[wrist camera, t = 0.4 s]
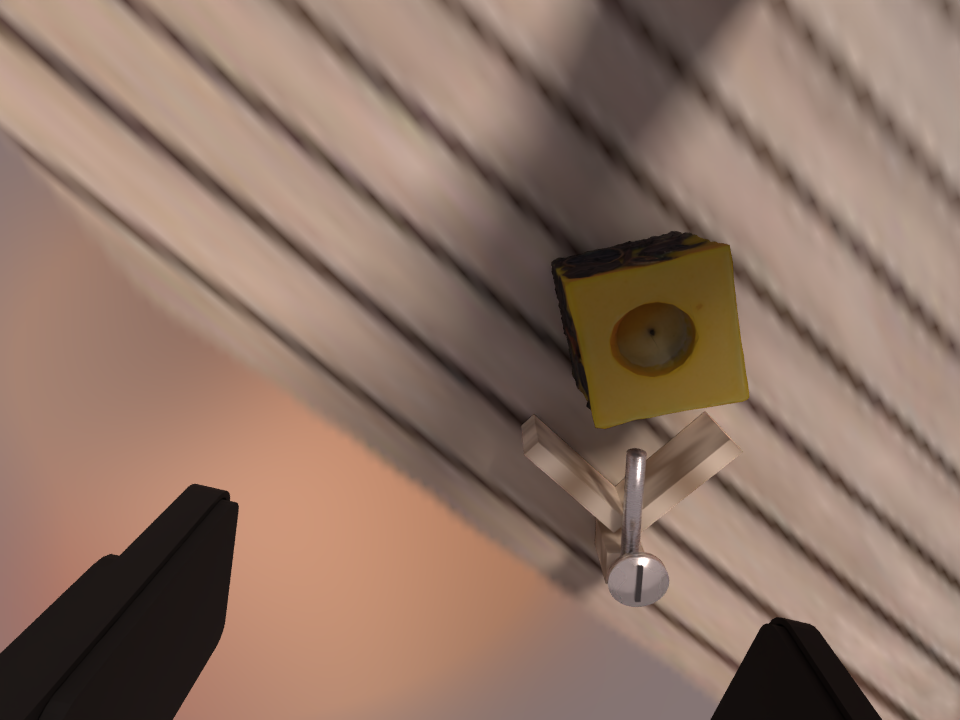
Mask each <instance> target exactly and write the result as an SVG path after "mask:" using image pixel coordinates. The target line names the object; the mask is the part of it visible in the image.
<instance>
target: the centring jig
mask: <svg viewBox="0 0 960 720" xmlns="http://www.w3.org/2000/svg"><path fill="white" fill-rule="evenodd" d="M521 429H522V439H523V449H524V455H525V456H526V457H527V458H528V459H529V460H531V461H532V462H533V463H534V464H535V465H536V466H537V467H539V468H540V469H541V470H542V471H543V472H544V473H545V474H547V475H548V476H549V477H550V478H551V479H552V480H554V481H555V482H556V483H557V484H558V485H559V486H560V487H562V488H563V489H564V490H565V491H566V492H567V493H569V494H570V495H571V496H572V497H573V498H574V499H575V500H577V501H578V502H579V503H580V504H581V505H582V506H583V507H585V508H586V509H587V510H588V511H589V512H590V513H592V514H593V515H594V516H595V517H596V531H595V546H596V550H597V554H598V557H599V561H600V565H601V568H602V572H603V576H604V579H605V583H606V584H608V583H607V571H608V569H609V567H610V565H611V564H612V563H613V562H614V561H615V560H616V559H617V558H619V557H620V549H621V533H622V518H623V502H624V486H625V479H623V480H622V481H621V482H620V483H619V484H617V485H616V486H613V485H612V484H611V483H610V482H609V481H608V480H607V479H606V478H604V477H603V476H602V475H601V474H600V473H599V472H598V471H597V470H596V469H594V468H593V467H592V466H591V465H590V464H589V463H588V462H587V461H585V460H584V459H583V458H582V457H581V456H580V455H579V454H578V453H577V452H575V451H574V450H573V449H572V448H571V447H570V446H569V445H568V444H566V443H565V442H564V441H563V440H562V439H561V438H560V437H559V436H558V435H556V434H555V433H554V432H553V431H552V430H551V429H550V428H549V427H547V426H546V425H545V424H544V423H543V422H542V421H541V420H540V419H539V418H537V417H536V416H535V415H534V414H533V415H532V416H531V417H530V418H529V419H528V420H527V421H526V422H525V423H524V424H523V425H522V426H521ZM742 452H743V451H742V450H741V449H740V448H739V447H738V446H737V445H736V443H735V442H734V441H733V440H732V439H731V438H730V437H729V436H728V435H727V434H726V432H725V431H724V430H723V429H722V428H721V427H720V426H719V425H718V424H717V423H716V422H715V421H714V420H713V419H712V418H711V417H710V416H709V415H708V414H707V413H706V412H704V413H703V414H701V415H700V416H699V417H698V418H697V419H695V420H694V421H693V422H692V423H691V424H689V425H688V426H687V427H686V428H685V429H683V430H682V431H681V432H680V433H679V434H677V435H676V436H675V437H674V438H673V439H671V440H670V441H669V442H668V443H667V444H665V445H664V446H663V447H662V448H661V449H659V450H658V451H657V452H656V453H655V454H653V455H652V456H651V457H650V458H649V459H647V460H646V469H645V482H644V495H643V508H642V521H641V532H642V531H644V530H645V529H646V528H648V527H649V526H650V525H651V524H653V523H654V522H655V521H656V520H658V519H659V518H660V517H661V516H663V515H664V514H665V513H666V512H668V511H669V510H670V509H672V508H673V507H674V506H675V505H677V504H678V503H679V502H680V501H682V500H683V499H684V498H685V497H687V496H688V495H689V494H690V493H692V492H693V491H694V490H696V489H697V488H698V487H699V486H701V485H702V484H703V483H704V482H706V481H707V480H708V479H709V478H711V477H712V476H713V475H715V474H716V473H717V472H718V471H720V470H721V469H722V468H723V467H725V466H726V465H727V464H728V463H730V462H731V461H732V460H733V459H735V458H736V457H737V456H739V455H740V454H741V453H742ZM615 488H616V489H615ZM618 496H619V497H618ZM620 501H621V502H620ZM639 552H644V550H643V547H642V545H641V542H640V547H639Z"/></svg>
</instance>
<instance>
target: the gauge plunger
mask: <svg viewBox="0 0 960 720" xmlns="http://www.w3.org/2000/svg"><path fill="white" fill-rule="evenodd" d="M646 456H647V453H646V452H645V451H644V450H641V449H637V448H632V449H629V450H627V455H626V470H625V486H624V502H623V518H622V533H621V549H620V557H619V558H617V559H616V560H615V561H614V562H613V563H612V564H611V565H610V567H609V569H608V571H607V583H608V587H609V590H610V593H611V595H612V596H613V597H614V598H615V599H616V600H617V601H618V602H620V603H622V604H624V605H627V606H632V607H642V606H647V605H650V604H652V603H654V602H656V601H658V600H659V599H660V598H661V597H662V596H663V595H664V594H665V593H666V591H667V589H668V586H669V576H668V573H667V570H666V568H665V566H664V564H663V563H662V561H661V560H660V559H659V558H657V557H656V556H654V555H652V554H650V553H646V552H639V547H640V534H641V521H642V508H643V495H644V482H645V469H646Z"/></svg>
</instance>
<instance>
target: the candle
mask: <svg viewBox="0 0 960 720" xmlns="http://www.w3.org/2000/svg"><path fill="white" fill-rule="evenodd" d="M551 266H552V274H553V276H554V277H553V279H554V283H555V286H556V287H555V291H556V294H557V299H558V300H559V308H560V312H561V315H562V318H561V319H562V323H563V329H564V334H565V335H566V336H567V341H568V345H569V352H570V357H571V362H572V367H573V369H572V375H573V377H574V379H575V381H576V385H577V388H578V389H579V390H580V391H581V392H582V393H583V395H584V396H585V398H586V399H587V401H588V402H587V407H588V408H589V409H590V410H591V411H592V417H593V421H594V425H595V428H601V429H606V428H610V427H613V426H617V425H620V424H623V423H626V422H630V421H633V420H636V419H644V418H652V417H656V416H661V415H665V414H670V413H676V412H681V411H686V410H693V409H700V408H707V407H713V406H719V405H725V404H731V403H737V402H743V401H745V400H747V399H748V398H749V389H748V381H747V376H746V369H745V362H744V354H743V349H742V343H741V336H740V328H739V320H738V312H737V303H736V294H735V286H734V275H733V261H732V255H731V250H730V245H727V244H723V243H717V242H710V241H709V240H708V239H703V238H700V237H698V236H697V235H693V234H692V233H683V234H682V233H681V232H677V231H671V232H669V233H668V234H663V235H661V236H653V237H650V238H648V239H643V240H639V241H635V242H631V241H629V242H626V243H623V244H619V245H616V246H613V247H610V248H605V249H597V250H594V251H587V252H586V253H584V254H582V255H577V256H570V257H567V258H557V259H556V260H554V261H553V262H552V263H551Z"/></svg>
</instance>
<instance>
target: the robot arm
mask: <svg viewBox="0 0 960 720" xmlns="http://www.w3.org/2000/svg"><path fill="white" fill-rule="evenodd" d="M238 509H239V506H238V503H236V502H232V501H230V494H229V492H228V491H225V490H220V489H216V488H212V487H207V486H203V485H198V484H192V485H190V486H189V487H188V488H187V489H186V490H185V491H184V492H183V493H182V494H181V495H180V496H179V497H178V498H177V499H176V500H175V501H174V502H173V503H172V504H171V505H170V506H169V507H168V508H167V509H166V510H165V511H164V512H163V513H162V514H161V515H160V516H159V517H158V518H157V519H156V520H155V521H154V522H153V523H152V524H151V525H150V526H149V527H148V528H147V529H146V530H145V531H144V532H143V533H142V534H141V535H140V536H139V537H138V538H137V539H136V540H135V541H134V542H133V543H132V544H131V545H130V546H129V547H128V548H127V549H126V550H125V551H124V552H123V553H122V554H121V555H120V556H118V555H113V554H109V555H107V556H105V557H102V558H101V559H100V560H98V561H97V562H96V563H95V564H93V565H92V566H91V567H90V568H89V569H88V570H87V571H86V572H85V573H84V574H83V575H82V576H81V577H80V578H79V579H78V580H77V581H76V582H75V583H73V585H71V586H70V588H68V589H67V590H66V591H65V592H64V593H63V594H62V595H61V596H60V597H59V598H58V599H57V600H56V601H55V602H54V603H53V604H52V605H50V606H49V607H48V609H46V610H45V611H44V612H43V613H42V614H41V615H40V616H39V617H38V618H37V619H36V620H35V621H34V622H33V623H32V624H31V625H30V626H29V627H28V628H27V629H25V630H24V631H23V632H22V633H21V634H20V635H19V636H18V637H17V638H16V639H15V640H14V641H13V642H12V643H11V644H10V645H9V646H8V647H7V648H6V649H5V650H4V651H2V652H1V653H0V720H173V718H174V717H175V715H176V713H177V712H178V710H179V708H180V707H181V705H182V703H183V702H184V700H185V698H186V697H187V695H188V693H189V691H190V690H191V688H192V687H193V685H194V683H195V681H196V680H197V678H198V677H199V675H200V673H201V671H202V670H203V668H204V666H205V665H206V663H207V661H208V660H209V658H210V656H211V655H212V653H213V651H214V650H215V648H216V646H217V644H218V642H219V640H220V638H221V635H222V632H223V629H224V625H225V618H226V610H227V602H228V593H229V585H230V577H231V569H232V560H233V551H234V544H235V535H236V527H237V519H238ZM711 720H882V719H881V717H880V716H879V715H878V713H877V712H876V710H875V709H874V708H873V706H872V705H871V703H870V702H869V701H868V699H867V698H866V696H865V695H864V694H863V692H862V691H861V689H860V688H859V687H858V685H857V684H856V682H855V681H854V680H853V678H852V677H851V675H850V674H849V673H848V671H847V670H846V668H845V667H844V666H843V664H842V663H841V661H840V660H839V659H838V657H837V656H836V654H835V653H834V652H833V650H832V649H831V647H830V646H829V645H828V643H827V642H826V640H825V639H824V638H823V636H822V635H821V633H820V632H819V631H818V630H817V629H816V628H815V627H814V626H812V625H810V624H807V623H803V622H799V621H794V620H790V619H785V618H779V617H776V618H774V619H772V620H771V622H770V623H769V624H764V625H763V626H762V627H761V628H760V630H759V632H758V634H757V636H756V637H755V639H754V641H753V643H752V645H751V647H750V648H749V650H748V652H747V654H746V656H745V658H744V659H743V661H742V663H741V665H740V667H739V668H738V670H737V672H736V674H735V676H734V678H733V679H732V681H731V683H730V685H729V687H728V689H727V690H726V692H725V694H724V696H723V698H722V700H721V701H720V703H719V705H718V707H717V709H716V711H715V712H714V715H713V716H712V718H711Z"/></svg>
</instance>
